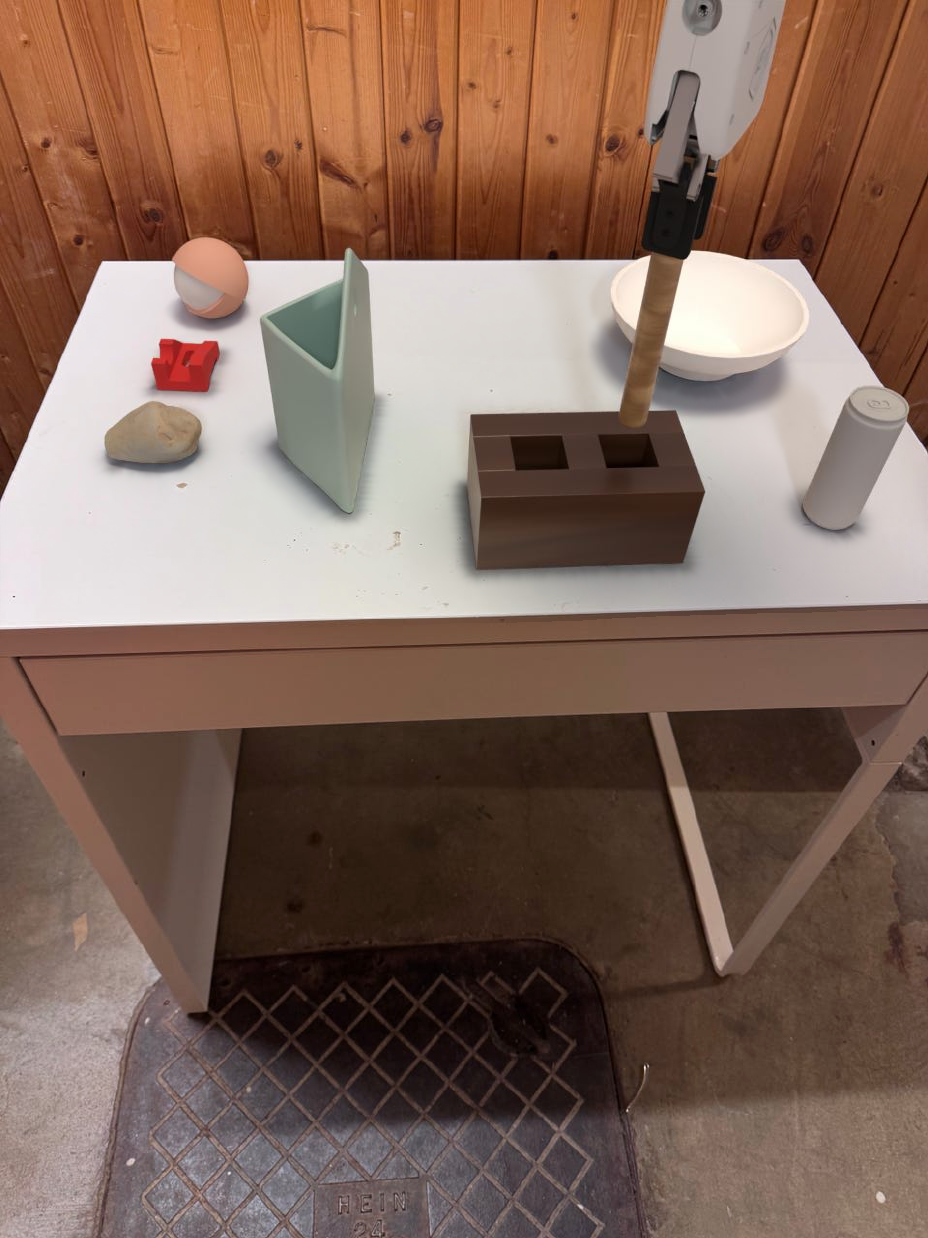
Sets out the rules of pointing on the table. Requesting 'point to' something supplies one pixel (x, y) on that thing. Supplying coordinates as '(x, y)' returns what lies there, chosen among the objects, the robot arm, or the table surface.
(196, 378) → the bracket
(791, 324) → the bowl
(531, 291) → the table surface
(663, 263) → the stirring stick
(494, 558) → the holder
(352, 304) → the planter
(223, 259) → the toy ball
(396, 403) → the table surface
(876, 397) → the beverage can
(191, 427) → the stone
